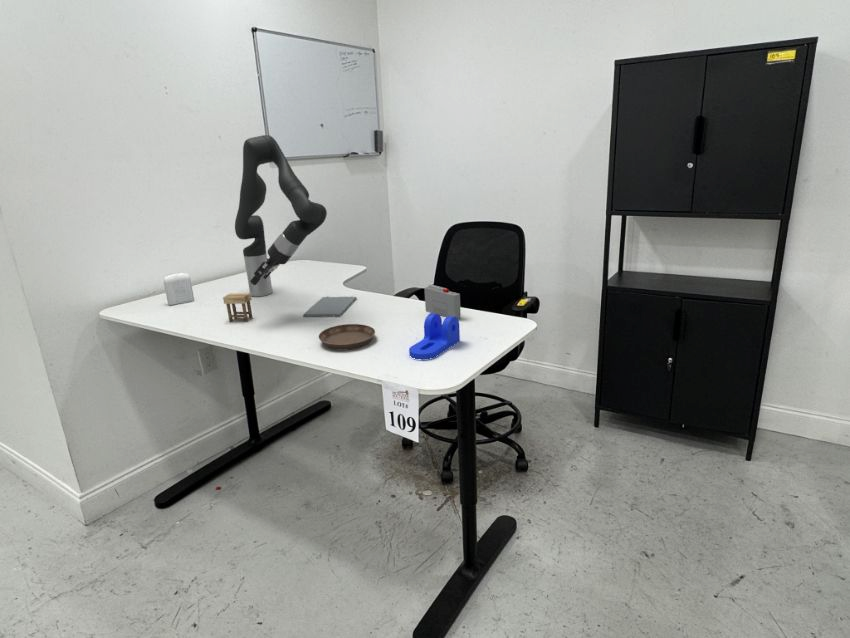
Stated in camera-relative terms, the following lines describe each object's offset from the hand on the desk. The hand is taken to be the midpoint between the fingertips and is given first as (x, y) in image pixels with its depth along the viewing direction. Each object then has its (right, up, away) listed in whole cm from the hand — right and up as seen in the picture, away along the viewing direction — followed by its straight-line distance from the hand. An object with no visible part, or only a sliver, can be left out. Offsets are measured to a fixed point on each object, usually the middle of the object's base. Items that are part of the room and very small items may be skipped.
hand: (258, 280), depth 187 cm
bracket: (+62, -23, -31) cm, 73 cm away
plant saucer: (+35, -21, -21) cm, 46 cm away
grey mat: (+24, -9, +14) cm, 29 cm away
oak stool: (-8, -14, +6) cm, 17 cm away
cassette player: (+66, -13, -1) cm, 67 cm away
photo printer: (-42, -7, +33) cm, 54 cm away
